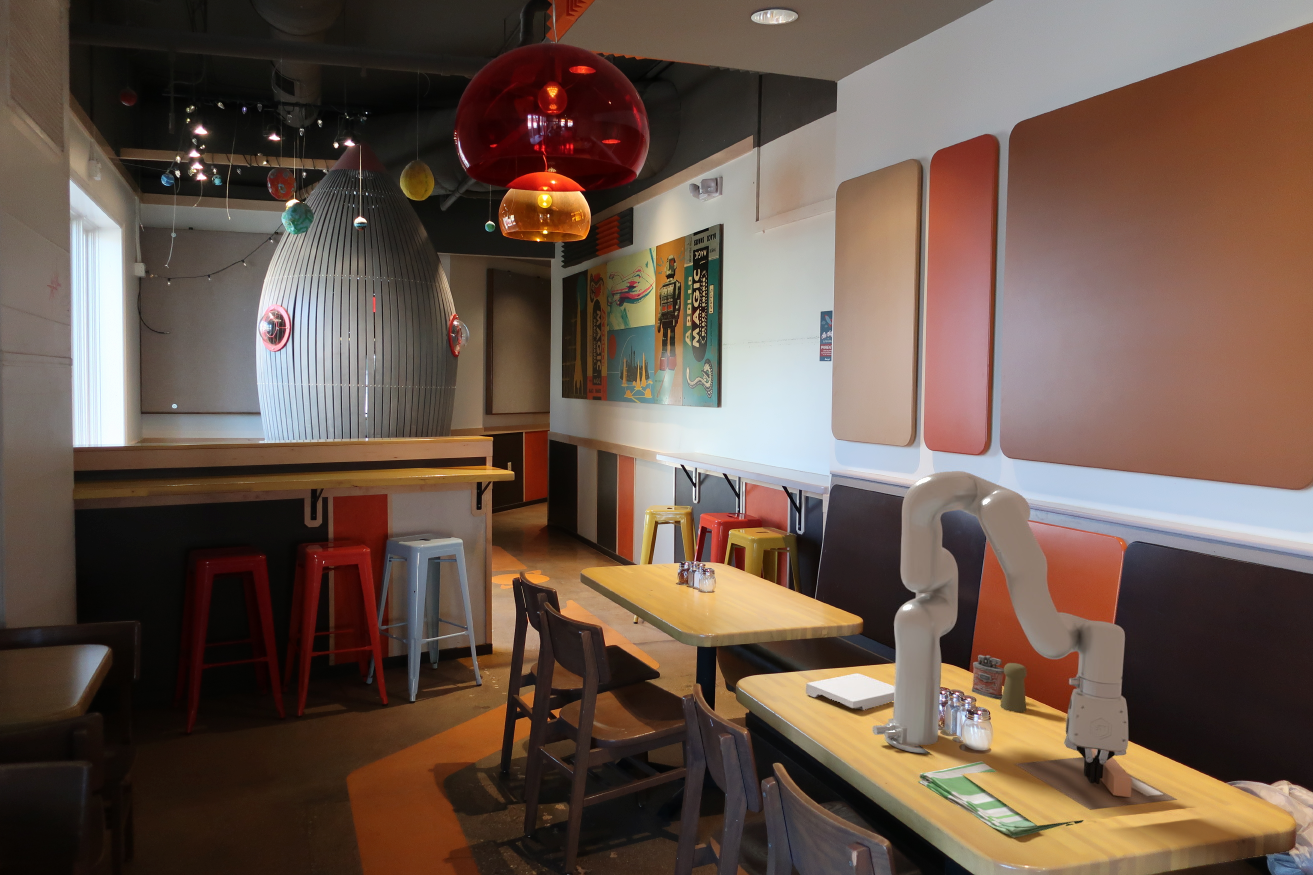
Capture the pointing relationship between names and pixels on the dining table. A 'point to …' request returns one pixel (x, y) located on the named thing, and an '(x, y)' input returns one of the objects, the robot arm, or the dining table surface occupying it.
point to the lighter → (988, 677)
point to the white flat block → (853, 691)
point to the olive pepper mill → (1014, 688)
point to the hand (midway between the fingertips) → (1092, 780)
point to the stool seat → (1089, 784)
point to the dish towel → (981, 800)
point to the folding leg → (1115, 777)
